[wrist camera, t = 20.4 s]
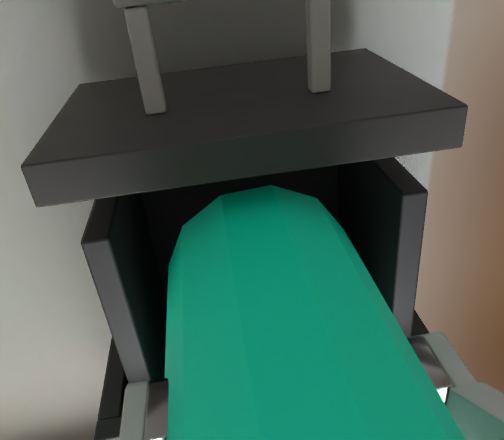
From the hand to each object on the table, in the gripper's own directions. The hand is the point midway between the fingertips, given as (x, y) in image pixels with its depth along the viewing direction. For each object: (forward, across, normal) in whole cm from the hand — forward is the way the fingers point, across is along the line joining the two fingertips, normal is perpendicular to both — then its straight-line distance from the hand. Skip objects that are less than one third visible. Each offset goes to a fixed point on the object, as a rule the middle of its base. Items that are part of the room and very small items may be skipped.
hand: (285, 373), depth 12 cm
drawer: (+11, 0, -1) cm, 11 cm away
